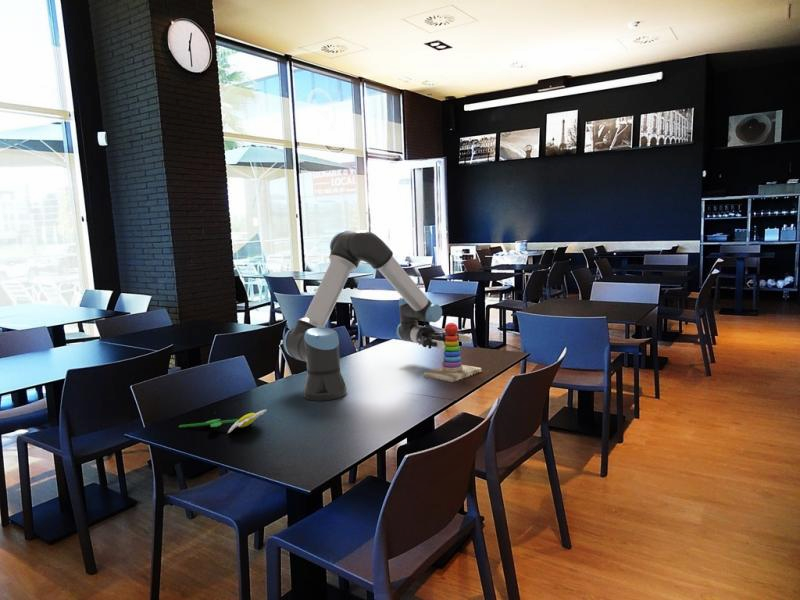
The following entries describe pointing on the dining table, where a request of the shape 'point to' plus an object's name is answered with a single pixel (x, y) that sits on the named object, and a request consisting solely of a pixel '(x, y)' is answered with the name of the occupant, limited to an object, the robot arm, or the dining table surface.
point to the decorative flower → (238, 422)
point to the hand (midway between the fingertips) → (457, 342)
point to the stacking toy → (451, 350)
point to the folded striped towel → (452, 373)
